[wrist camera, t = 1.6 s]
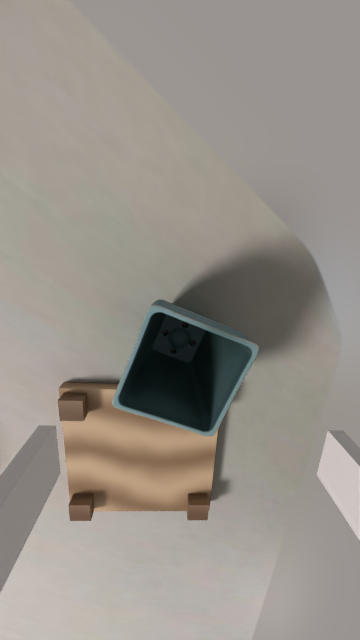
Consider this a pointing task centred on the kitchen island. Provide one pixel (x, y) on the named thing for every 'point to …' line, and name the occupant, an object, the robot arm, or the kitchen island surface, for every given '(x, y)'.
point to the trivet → (130, 458)
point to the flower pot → (184, 369)
